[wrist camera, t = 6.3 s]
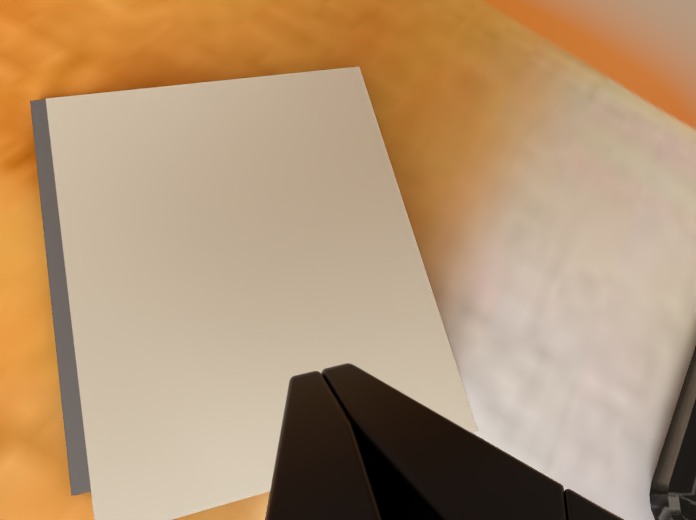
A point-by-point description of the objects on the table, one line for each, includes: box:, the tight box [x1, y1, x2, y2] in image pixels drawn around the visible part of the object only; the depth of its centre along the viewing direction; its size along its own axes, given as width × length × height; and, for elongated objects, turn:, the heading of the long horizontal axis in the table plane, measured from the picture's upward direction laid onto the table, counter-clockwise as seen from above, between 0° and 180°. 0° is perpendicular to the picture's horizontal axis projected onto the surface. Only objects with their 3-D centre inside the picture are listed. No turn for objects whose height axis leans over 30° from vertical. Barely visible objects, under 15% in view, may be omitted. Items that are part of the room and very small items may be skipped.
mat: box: [30, 99, 91, 495], centre depth 16 cm, size 11×10×1 cm
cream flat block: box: [46, 66, 478, 520], centre depth 15 cm, size 3×8×10 cm
